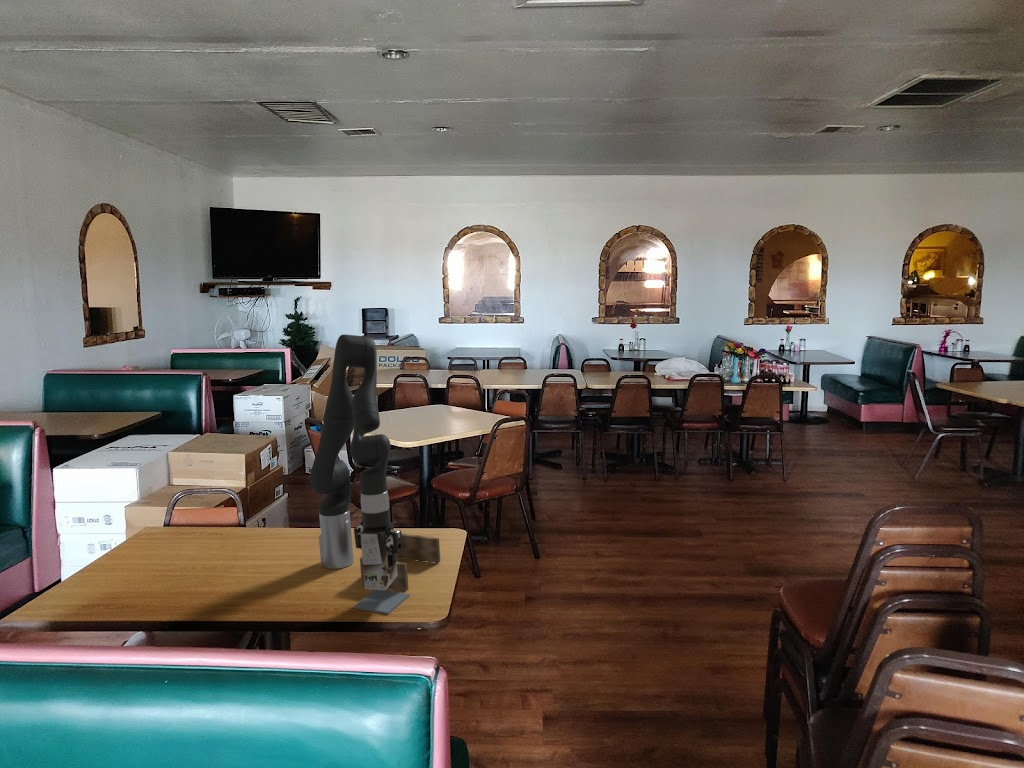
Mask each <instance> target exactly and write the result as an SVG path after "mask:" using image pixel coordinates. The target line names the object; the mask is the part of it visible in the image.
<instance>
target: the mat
mask: <svg viewBox="0 0 1024 768" xmlns="http://www.w3.org/2000/svg"><path fill="white" fill-rule="evenodd" d="M410 596H411V594H410V593H405V592H399V591H392V590H388V589H386V590H372V591H371V592H370V593H369V594H367V595H366V596H365V597H363V598H362V599H361V600H360V601H358V602H357V603H356V604H355V605H354V606H353V609H355V608H356V609H355V610H357V609H358V610H362V611H367V612H373V613H378V614H384V615H389V614H391V613H392V612H393V611H394V610H395V609H397V608H398V606H400V605H401V604H403V602H404V601H406V600H407V599H408V598H409V597H410Z"/></svg>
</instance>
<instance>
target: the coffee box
mask: <svg viewBox="0 0 1024 768" xmlns="http://www.w3.org/2000/svg"><path fill="white" fill-rule="evenodd" d="M390 527H391V529H392V530H395V528H394V522H393V521H390ZM390 537H391V539H392V536H391V535H390V536H388V538H387V537H386V531H385V530H380V529H365V530H364V531H363V532H362V533H361V546H362V549H361V555H362V556H361V557H362V558H363V571H364V583H365V584H364V589H365V590H372V591H374V590H388V589H389V588H388V587H389V586H390V585H391V583H392V582H393V581H394V580H395V578H396V577H397V564H395V565H394V566H393V567H392V568H391V567H389V565H388V552H387V547H386V544H387V543H389V542H390ZM392 540H393V539H392ZM389 547H390V545H389Z"/></svg>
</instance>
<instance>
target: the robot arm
mask: <svg viewBox="0 0 1024 768" xmlns="http://www.w3.org/2000/svg"><path fill="white" fill-rule="evenodd" d="M334 349H335V350H334V355H333V365H332V374H331V379H330V380H331V381H330V387H329V392H328V397H327V401H326V406H325V411H324V415H323V421H322V428H321V433H320V438H319V442H318V445H317V446H318V447H317V450H316V453H315V457H314V460H313V464H312V467H311V470H310V474H309V475H310V476H309V482H310V486H311V488H312V490H313V491H314V492H315V493H316V494H318V495H325V497H324V498H323V499H322V500H321V501H320V503H319V504H318V515H319V526H320V535H318V544H319V555H320V562H321V563H320V565H321V566H324V567H325V568H326V569H329V570H330V569H332V570H336V569H342V568H347V567H348V566H350V565H352V564H353V563H354V562H355V558H354V548H353V546H354V545H353V536H354V542H355V548H356V549H361V550H362V546H361V533H362V532H363V531H364V530H365V529H380V530H385V531H386V537H387V538H388V536H390V535H391V536H392V539H393V540H392V539H391V537H390V542H389V543H387V544H386V547H387V552H388V565H389V567H391V568H392V567H393V566H394V565H395V564H396V562H397V561H396V554H397V553H398V552H399V551H401V550H402V537H401V533H402V530H401V529H397V530H396V529H394V530H392V529H391V527H390V522H392V521H391V509H390V499H389V493H388V485H387V468H388V463H389V458H390V454H391V441H390V439H389V437H388V436H387V435H385V434H383V433H381V434H379V433H378V434H371V435H367V434H368V433H372V432H374V431H376V430H378V429H379V427H380V425H381V421H380V420H381V419H380V414H379V413H380V412H379V405H378V397H377V384H378V383H377V378H378V375H377V373H378V366H377V365H378V363H377V361H378V360H377V359H378V358H377V357H378V356H377V345H376V342H375V340H374V338H373V337H370V336H364V335H354V334H353V335H352V334H340V335H339V336H338V339H337V341H336V344H335V348H334ZM348 368H358V369H360V368H361V369H363V370H364V373H363V379H362V381H361V383H360V384H359V386H358V388H357V389H356V391H355V393H352V391H351V389H350V387H349V384H348V381H347V373H346V372H347V369H348ZM353 394H354V395H353ZM351 435H352V438H351V443H350V448H349V449H350V450H349V451H350V453H349V454H350V457H351V459H352V460H353V461H354V462H355V463H357V464H362V463H363V464H364V463H373V462H377V463H376V464H375V465H374V466H372V467H370V468H366V469H364V470H363V471H361V472H360V473H359V484H360V485H359V488H360V508H361V509H360V510H361V521H362V523H361V524H359V525H357V526H356V527H354V528H353V533H354V534H353V535H352V525H351V517H350V516H351V513H350V503H351V500H352V499H351V498H352V495H351V494H352V492H351V487H352V486H351V472H350V469H349V467H348V465H347V463H346V462H345V461H344V460H342V459H341V458H338V456H339V454H340V452H341V450H342V449H343V448H344V446H345V444H346V443H347V442H348V440H349V438H350V437H351ZM389 545H390V547H389Z"/></svg>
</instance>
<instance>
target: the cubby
mask: <svg viewBox="0 0 1024 768" xmlns="http://www.w3.org/2000/svg"><path fill="white" fill-rule="evenodd" d="M401 537H402V550H401V551H399V552H398V553H397V554H396V564H397V577H396V578H395V580H394V581H393V582H392V583H391V585H390V586H389V587H388V588H387V589H391V590H396V591H397V590H398V591H402V592H403V591H405V592H407V591H409V577H408V576H409V575H408V563H407V562H400V561H399V560H400V559H401V558H402V559H403V560H408V559H410V561H415V560H418V561H417V562H422V561H428V562H427V563H429V562H435V563H434V564H436V563H439V562H440V561H441V549H440V548H441V547H440V546H441V545H440V538H439V537H433V536H425V535H424V536H423V535H418V534H417V535H416V534H410V533H408V534H407V533H402V532H401ZM398 559H399V560H398ZM402 559H401V560H402ZM359 563H360V565H359V566H360V576H361V585H365V583H364V571H363V558H362V556H361V557H359ZM440 563H441V562H440ZM440 563H439V564H440Z"/></svg>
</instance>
